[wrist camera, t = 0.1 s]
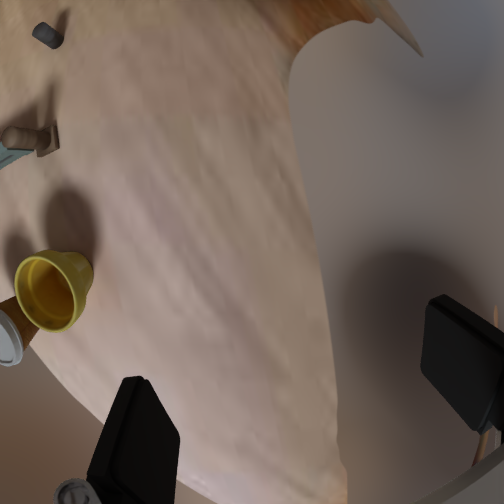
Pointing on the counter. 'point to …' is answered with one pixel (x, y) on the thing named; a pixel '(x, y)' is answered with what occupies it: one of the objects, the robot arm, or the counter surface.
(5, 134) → the gate posts
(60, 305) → the plant pot
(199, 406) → the counter surface
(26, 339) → the disposable coffee cup
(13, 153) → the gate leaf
